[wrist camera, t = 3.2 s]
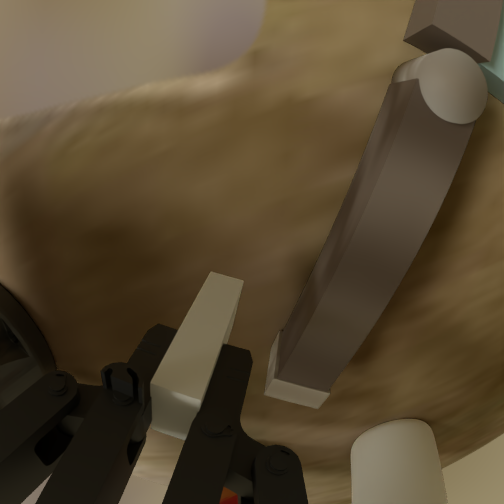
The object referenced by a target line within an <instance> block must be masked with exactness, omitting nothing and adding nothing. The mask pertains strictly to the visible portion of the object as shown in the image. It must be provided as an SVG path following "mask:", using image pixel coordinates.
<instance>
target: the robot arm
mask: <svg viewBox="0 0 504 504" xmlns="http://www.w3.org/2000/svg"><path fill="white" fill-rule="evenodd" d="M243 283H244V280H240V279H236V278H233V277H229V276H226V275H222V274H219V273H215V272H212V271H211V272H210V273H209V275H208V277H207V279H206V281H205V282H204V284H203V286H202V288H201V290H200V291H199V293H198V295H197V297H196V299H195V300H194V302H193V304H192V306H191V308H190V310H189V311H188V313H187V315H186V317H185V319H184V321H183V322H182V324H181V326H180V328H179V330H176V329H173V328H170V327H167V326H164V325H161V324H157V325H156V326H154V327H153V328H151V329H149V330H148V331H147V333H146V334H145V336H144V338H143V339H142V342H140V344H139V345H138V347H137V349H136V350H135V352H134V353H133V355H132V356H131V358H130V359H129V361H128V363H123V362H119V363H112V364H109V365H107V366H105V367H104V368H103V369H102V370H101V377H102V382H103V386H92V385H85V384H79V383H77V382H76V380H75V378H74V377H73V376H72V375H71V374H69V373H67V372H65V371H59V370H58V371H56V367H55V363H54V359H53V357H52V354H51V352H50V349H49V347H48V345H47V343H46V341H45V340H44V338H43V336H42V335H41V333H40V331H39V330H38V328H37V327H36V325H35V324H34V322H33V321H32V320H31V318H30V317H29V315H28V314H27V313H26V312H25V310H24V309H23V308H22V307H21V306H20V304H19V303H18V302H17V301H16V300H15V299H14V298H13V297H12V296H11V295H10V294H9V293H8V292H7V291H6V290H5V289H4V288H3V287H2V286H1V285H0V504H21V503H22V502H23V501H24V500H25V499H26V498H27V497H28V496H29V495H30V494H31V493H32V492H33V491H34V490H35V489H36V488H37V487H38V486H39V485H40V484H41V483H42V482H43V481H44V480H45V479H46V478H47V477H49V476H50V474H52V475H51V476H50V478H49V480H48V482H47V483H46V485H45V487H44V489H43V491H42V492H41V494H40V496H39V498H38V500H37V502H36V503H35V504H118V503H119V501H120V499H121V496H122V494H123V492H124V489H125V487H126V485H127V483H128V480H129V478H130V476H131V474H132V471H133V469H134V467H135V465H136V462H137V460H138V458H139V456H140V453H141V451H142V449H143V447H144V444H145V442H146V432H147V430H148V428H149V426H150V424H151V429H153V430H156V431H159V432H161V433H164V434H167V435H170V436H173V437H176V438H179V439H182V440H185V443H184V445H183V448H182V451H181V454H180V456H179V459H178V462H177V464H176V467H175V470H174V473H173V475H172V478H171V481H170V483H169V486H168V489H167V492H166V494H165V497H164V500H163V502H162V504H219V503H220V499H221V495H222V491H223V487H226V488H227V489H229V490H231V491H232V492H234V493H236V494H237V496H238V504H308V500H307V494H306V489H305V483H304V478H303V472H302V467H301V462H300V460H299V458H298V456H297V455H296V454H295V453H294V452H293V451H292V450H291V449H289V448H287V447H285V446H280V445H272V446H267V447H266V446H264V445H262V444H260V443H258V442H256V441H255V440H253V439H252V438H250V437H249V436H248V435H247V434H246V433H245V432H244V431H243V429H242V427H241V423H240V414H241V410H242V406H243V402H244V398H245V393H246V389H247V385H248V381H249V376H250V372H251V368H252V363H253V361H252V357H251V354H250V351H249V350H245V349H242V348H238V347H235V346H231V345H228V344H227V342H228V339H229V336H230V333H231V330H232V327H233V323H234V319H235V315H236V311H237V307H238V303H239V299H240V295H241V291H242V287H243Z"/></svg>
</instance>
